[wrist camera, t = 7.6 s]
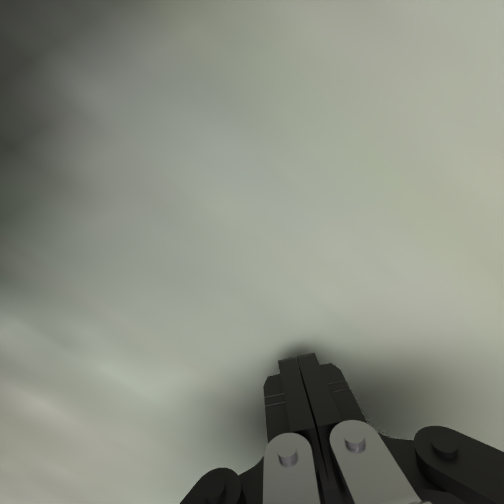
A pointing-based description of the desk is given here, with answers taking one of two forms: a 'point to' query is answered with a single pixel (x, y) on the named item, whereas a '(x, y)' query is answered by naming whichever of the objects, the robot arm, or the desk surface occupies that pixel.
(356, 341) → the desk surface
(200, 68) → the desk surface
